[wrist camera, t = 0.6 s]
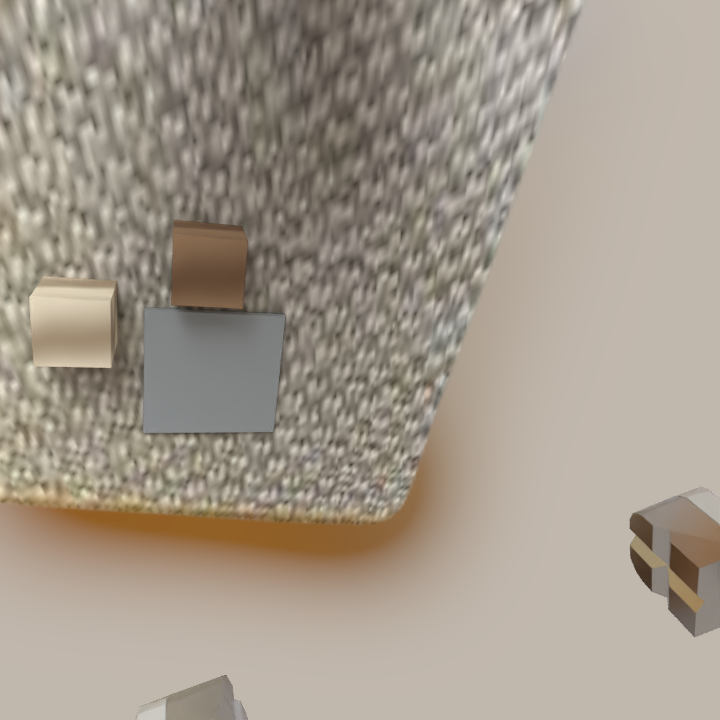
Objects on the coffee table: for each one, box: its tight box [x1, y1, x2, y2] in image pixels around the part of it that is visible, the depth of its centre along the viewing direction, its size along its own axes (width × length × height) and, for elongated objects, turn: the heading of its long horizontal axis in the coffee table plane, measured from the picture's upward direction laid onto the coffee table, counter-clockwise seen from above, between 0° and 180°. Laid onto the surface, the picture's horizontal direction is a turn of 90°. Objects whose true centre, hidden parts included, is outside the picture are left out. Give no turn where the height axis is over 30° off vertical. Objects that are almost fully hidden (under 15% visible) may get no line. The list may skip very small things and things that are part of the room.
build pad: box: [143, 307, 285, 433], centre depth 50 cm, size 11×11×1 cm
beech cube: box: [29, 276, 118, 368], centre depth 44 cm, size 5×5×5 cm
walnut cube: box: [171, 220, 248, 309], centre depth 45 cm, size 5×5×5 cm
